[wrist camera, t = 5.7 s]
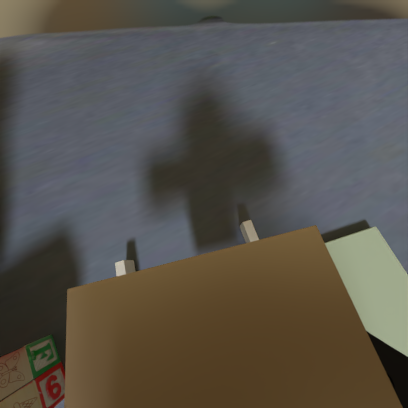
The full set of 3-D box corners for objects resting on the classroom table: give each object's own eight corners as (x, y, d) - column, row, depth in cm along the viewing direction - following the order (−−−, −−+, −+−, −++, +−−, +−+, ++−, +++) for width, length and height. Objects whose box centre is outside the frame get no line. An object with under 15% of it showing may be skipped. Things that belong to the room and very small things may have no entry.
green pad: (440, 340, 17) (454, 345, 16) (331, 381, 16) (338, 388, 16) (368, 228, 21) (375, 226, 20) (277, 258, 20) (281, 257, 19)
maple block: (254, 316, 14) (535, 688, 2) (194, 332, 13) (53, 858, 2) (236, 253, 15) (316, 225, 3) (182, 267, 15) (67, 288, 3)
